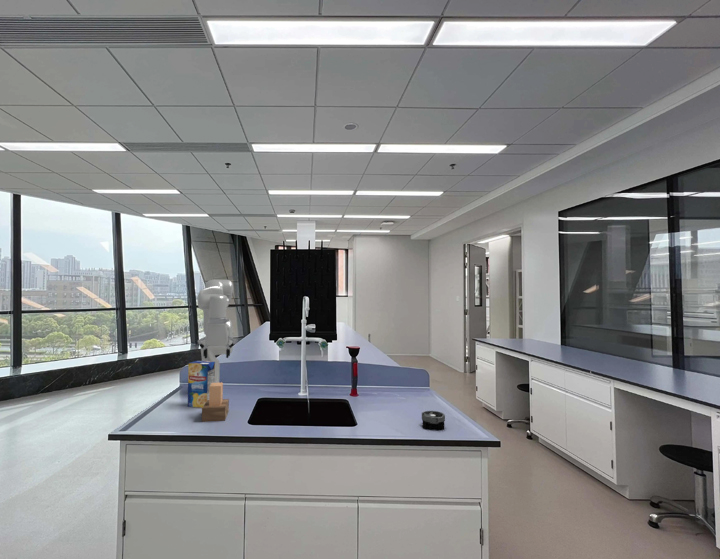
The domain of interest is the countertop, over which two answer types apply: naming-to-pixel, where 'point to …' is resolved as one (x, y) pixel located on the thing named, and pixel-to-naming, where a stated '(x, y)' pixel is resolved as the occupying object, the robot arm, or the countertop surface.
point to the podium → (215, 411)
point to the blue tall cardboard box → (200, 382)
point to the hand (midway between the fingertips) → (216, 357)
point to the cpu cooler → (433, 420)
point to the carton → (215, 394)
